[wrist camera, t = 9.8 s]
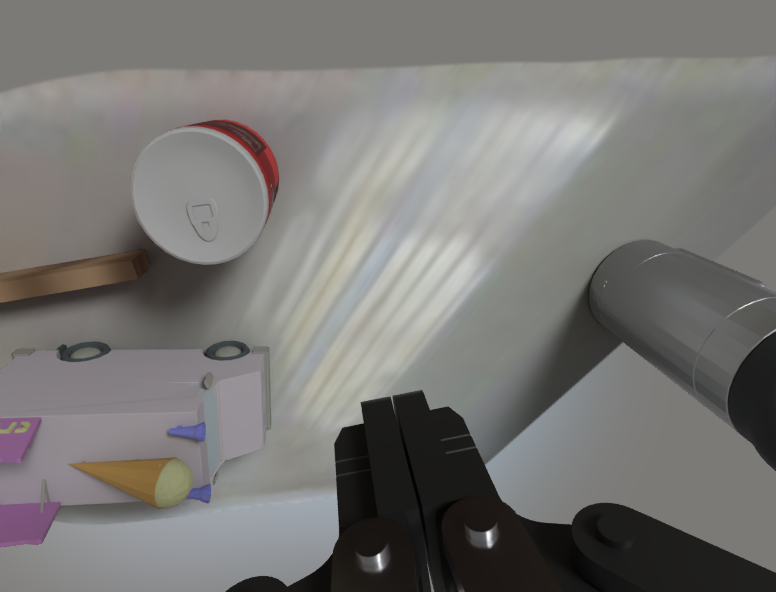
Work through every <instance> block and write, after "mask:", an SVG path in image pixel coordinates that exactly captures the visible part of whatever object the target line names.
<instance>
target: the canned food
mask: <svg viewBox="0 0 776 592" xmlns="http://www.w3.org/2000/svg"><path fill="white" fill-rule="evenodd" d="M278 185H279V173H278V167H277V163H276V160H275V157H274V155H273V153H272V151H271V149H270V147H269V146H268V145H267V143H266V142H265V141H264V139H263V138H261V137H260V136H259V135H258V134H257V133H256V132H255V131H253V130H252V129H250V128H249V127H247V126H245V125H243V124H240V123H238V122H234V121H229V120H213V121H207V122H202V123H197V124H192V125H187V126H183V127H179V128H175V129H172V130H169V131H167V132H165V133H163V134H161V135H159V136H158V137H156V138H155V139H154V140H153V141H152V142H150V143H149V144H148V145H147V146H146V147H145V148H144V150H143V151H142V152H141V153H140V155H139V156H138V158H137V160H136V163H135V165H134V167H133V171H132V176H131V180H130V196H131V201H132V206H133V210H134V212H135V214H136V217H137V219H138V222H139V223H140V225H141V226H142V228H143V230H144V231H145V233H146V234H147V235H148V236H149V237H150V238H151V240H152V241H153V242H154V243H155V244H156V245H158V246H159V247H160V248H161V249H163V250H164V251H165V252H167V253H168V254H170V255H172V256H174V257H176V258H178V259H180V260H183V261H186V262H190V263H195V264H202V265H210V264H219V263H223V262H227V261H230V260H232V259H234V258H236V257H238V256H240V255H241V254H243V253H244V252H245V251H247V250H248V249H249V248H250V247H251V246H252V245H253V244H254V243H255V241H256V240H257V239H258V238H259V236H260V234H261V232H262V230H263V229H264V227H265V225H266V222H267V220H268V217H269V214H270V212H271V209H272V206H273V203H274V201H275V198H276V194H277V191H278Z"/></svg>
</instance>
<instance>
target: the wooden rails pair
mask: <svg viewBox="0 0 776 592" xmlns="http://www.w3.org/2000/svg"><path fill="white" fill-rule="evenodd" d="M149 268H150V265H149V262H148V259H147V256H146V253H145V250H144V249H143V250H137V251H131V252H125V253H119V254H113V255H107V256H101V257H95V258H89V259H83V260H77V261H71V262H65V263H59V264H53V265H47V266H41V267H35V268H29V269H23V270H17V271H11V272H5V273H0V303H2V302H8V301H14V300H20V299H26V298H31V297H37V296H43V295H49V294H55V293H61V292H66V291H72V290H78V289H84V288H90V287H96V286H102V285H107V284H113V283H119V282H125V281H131V280H137V279H139V278H140V277H141V276H142V275H143V274H144V273H145V272H146V271H147V270H148V269H149Z"/></svg>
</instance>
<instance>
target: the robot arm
mask: <svg viewBox="0 0 776 592" xmlns="http://www.w3.org/2000/svg"><path fill="white" fill-rule="evenodd" d="M589 305H590V308H591V311H592V314H593V315H594V317H595V318H596V320H597V321H598V322H599V323H600V324H602V325H603V326H604V327H605V328H606V329H608V330H609V331H610V332H612V333H613V334H614V335H615V336H617V337H618V338H619V339H620V340H622V341H623V342H624V343H625V344H626V345H628V346H629V347H630V348H631V349H633V350H634V351H635V352H637V353H638V354H639V355H641V356H642V357H643V358H644V359H645V360H647V361H648V362H649V363H650V364H652V365H653V366H654V367H655V368H657V369H658V370H659V371H661V372H662V373H663V374H664V375H666V376H667V377H668V378H669V379H671V380H672V381H673V382H674V383H676V384H677V385H678V386H680V387H681V388H682V389H683V390H685V391H686V392H687V393H688V394H690V395H691V396H692V397H694V398H695V399H696V400H697V401H698V402H700V403H701V404H702V405H704V406H705V407H706V408H708V409H709V410H710V411H711V412H713V413H714V414H715V415H716V416H718V417H719V418H721V419H722V420H723V421H724V422H725V423H727V424H728V425H729V426H730V427H732V428H733V429H734V430H735V431H737V432H738V433H739V434H741V435H742V436H743V437H744V438H746V439H747V440H748V441H749V442H751V443H752V444H753V445H754V447H755V449H756V450H757V452H758V453H759V454H760V456H761V457H762V458H763V459H764V460H765V461H766V463H767V464H768V465H770V466H771V467H772V468H773V469H774V470H775V471H776V292H775V291H773V290H770V289H768V288H766V285H765V284H764V283H763V282H762V281H760V280H757V279H755V278H752V277H750V276H747V275H745V274H742V273H740V272H738V271H735V270H733V269H730V268H728V267H725V266H723V265H720V264H718V263H716V262H713V261H711V260H708V259H706V258H704V257H701V256H699V255H696V254H694V253H691V252H689V251H686V250H684V249H674V248H671V247H669V246H667V245H664V244H662V243H659V242H655V241H647V240H642V241H636V242H632V243H629V244H627V245H624V246H622V247H620V248H619V249H617V250H615V251H614V252H613V253H611V254H610V255H609V256H608V257H607V258H606V259H605V260H604V261H603V262H602V264H601V265H600V266H599V267H598V269H597V271H596V273H595V274H594V276H593V279H592V282H591V285H590V290H589ZM393 404H394V409H393V405H392V401H391V397H385V398H379V399H374V400H369V401H364V402H361V407H362V414H363V420H364V424H359V425H354V426H349V427H344V428H342V430H341V432H340V434H339V436H338V437H337V439H336V441H335V443H334V447H335V462H336V477H337V478H336V482H337V500H338V517H339V538H338V540H337V542H336V544H335V546H334V549H333V553H332V555H331V556H330V558H329V559H328V560H327V561H326V562H325V563H324V564H323V565H322V566H321V567H320V568H319V569H317V570H316V571H315V572H313V573H312V574H310V575H308V576H306V577H305V578H303V579H301V580H299V581H297V582H296V583H293V584H292V585H290V586H288V587H287V586H286V585H285V584H284V583H283V582H282V581H280V580H278V579H276V578H273V577H269V576H257V577H252V578H249V579H246V580H243V581H241V582H239V583H237V584H236V585H234V586H232V587H231V588H229V589H228V590H227V591H226V592H431V586H430V580H429V573H428V567H429V572H430V576H431V580H432V584H433V589H434V592H776V573H775V572H772V571H770V570H768V569H766V568H764V567H761V566H759V565H757V564H755V563H752V562H750V561H748V560H746V559H744V558H741V557H739V556H737V555H735V554H732V553H730V552H728V551H726V550H723V549H721V548H719V547H717V546H714V545H712V544H710V543H708V542H705V541H703V540H701V539H699V538H696V537H694V536H692V535H690V534H687V533H685V532H683V531H681V530H679V529H676V528H674V527H672V526H670V525H667V524H665V523H663V522H661V521H658V520H656V519H654V518H652V517H650V516H647V515H645V514H643V513H641V512H638V511H636V510H634V509H631V508H629V507H626V506H623V505H619V504H613V503H597V504H593V505H589V506H587V507H585V508H583V509H582V510H580V511H579V512H578V513H577V514H576V515H575V518H574V519H573V522H572V525H570V524H555V523H542V522H536V521H532V520H529V519H526V518H523V517H521V516H519V515H517V514H516V513H515V511H514V510H513V509H512V508H511V507H510V506H509V505H507V504H506V503H504V502H502V500H501V499H500V497H499V495H498V493H497V491H496V488H495V486H494V484H493V482H492V480H491V478H490V476H489V474H488V471H487V469H486V467H485V465H484V463H483V460H482V458H481V456H480V454H479V452H478V450H477V449H476V445H475V443H474V441H473V439H472V437H471V436H470V432H469V430H468V428H467V426H466V424H465V422H464V419H463V418H462V417H461V416H460V415H459V414H457V413H456V412H455V411H453V410H452V409H451V408H449V407H443V408H438V409H433V410H430V409H429V406H428V404H427V401H426V398H425V396H424V393H423V391H422V390H420V391H414V392H409V393H404V394H399V395H394V396H393ZM394 410H395V413H394ZM395 416H396V417H395ZM427 564H428V566H427Z"/></svg>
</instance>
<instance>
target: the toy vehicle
mask: <svg viewBox="0 0 776 592" xmlns="http://www.w3.org/2000/svg"><path fill="white" fill-rule="evenodd" d="M12 357H13V360H12V361H11V362H10V363H9V364H7V365H6V366H5V367H4V368H3V369H2V370H0V547H7V546H15V545H22V544H33V545H38V544H41V543H43V541H44V538H45V537H46V535H47V533H48V530H49V529H50V526H51V524H52V522H53V520H54V518H55V516H56V514H57V512H58V510H59V508H60V506H65V505H85V504H104V503H124V502H146V503H148V504H150V505H152V506H154V507H156V508H158V509H162V508H168V507H172V506H175V505H177V504H179V503H181V502H182V501H184V500H185V499H196V500H201V501H202V502H205V503H209V501H210V496H211V485H210V484H209V483H210V481H211V480H212V478H213V477H214V475H215V478H214V482H213V485H214V484H215V482H216V480H217V476H218V472H219V468H220V467H221V465H222V464H223V462H224V461H226V460H229V459H232V458H235V457H238V456H241V455H244V454H247V453H250V452H253V451H256V450H259V449H262V448H264V443H265V436H266V430H269V429H271V399H270V366H269V347H254V348H253V349H251V351H250V350H249V348H248V347H247V345H246V344H244V343H241V342H237V341H223V342H220V343H217V344H214V345H212V346H211V347H209V348H208V350H207V352H206V354H205V356H204V354H203V349H139V350H111V349H110V348H109V346H108V345H107V344H104V343H101V342H86V343H80V344H77V345H74V346H71V347H69V348H68V349H67V346H66V345H61V346H60V347H59V348H58V349H57V350H45V351H36V350H35V349H17V350H15V351H14V352H13V353H12Z"/></svg>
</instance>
